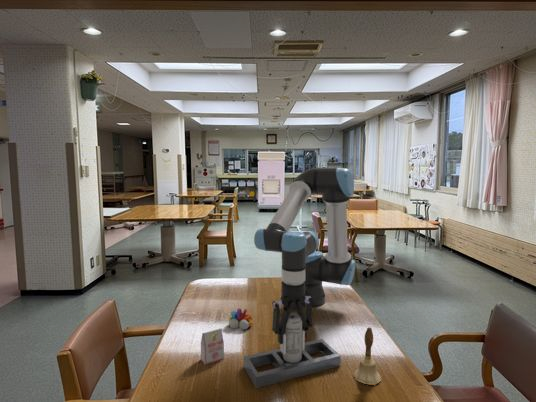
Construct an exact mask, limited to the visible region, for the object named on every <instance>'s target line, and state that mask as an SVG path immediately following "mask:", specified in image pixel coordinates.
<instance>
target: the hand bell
mask: <svg viewBox="0 0 536 402" xmlns="http://www.w3.org/2000/svg"><path fill="white" fill-rule="evenodd" d="M373 344H374V334H373V329H372V327H369V326H368V327H367V329H366V331H365V332H364V345H365V354H364V355H365V356H364V357H361V359H360V361H359V366H358V368H357V369H356V370H355V371H354V373H353V378H354V377H355V378H354V380H355V381H356V382H358V381H359V382H361V383H364V384H377V383H379V382H380V381H381V382H382V376H381V375H380V373H379V372H378V371H377V367H376V361H375V360H374V359H373V358H372V346H373ZM359 382H358V383H359ZM381 382H380V383H381ZM361 383H360V384H361ZM380 383H379V384H380ZM364 384H363V385H364Z"/></svg>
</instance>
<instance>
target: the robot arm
mask: <svg viewBox="0 0 536 402" xmlns="http://www.w3.org/2000/svg"><path fill="white" fill-rule="evenodd" d="M354 194H355V180H354V176H353V173H352V171H351V170H350V169H349V168H343V167H342V168H341V167H312V168H309V169H307V170H305V171H303V172H301V173H300V174H298V175H297V176H296V177H295V178H294V179H293V181H292V182H291V183H290V185H289V191H288V193H287V194H286V196H285V198H284V200H283V201H282V203H281V205H280V206H279V207H278V209H277V211H276V213H275V214H274V216H273V217H272V219H271V221H270V222H269V224H268V225H267V227H266V228H259V229H257V230H256V231H255V233H254V236H253V237H254V239H253V243H254V245H255V248H256V249H258V250H261V251H265V252H275V253H281V280H282V281H281V283H280V284H281V291H280V292H281V297H280V298H279V300H277V301H272V302H271V303H272V307H273V314H272V328H271V329H272V332H273V333H274V334H275V335H277V342H278V343H279V346H280V347H279V349H280V351H281V352H282V353H283V354H284V355H285V354H286V334H285V333H284V331H285V328H286V325H287V321H288V318H289V315H290V314H291V313H292V312H293V311H296V313H297V314H299V315H300V318H301V320H302V350H304V349H305V343H306V342H305V340H306V339H307V337H308V331H309V330H310V328H312V327H313V325H314V323H313V322H314V321H313V307H316V306H317V307H318V306H321V305H324V304H325V303H326V294H325V290H324V287H323V283H329V284H335V285H340V286H350V285H351V284H352V281H353V280H354V279H353V278H354V276H355V272H356V266H357V264H356V260H354V259H352V254H351V253H350V252H349V251H348V247H349V246H348V214H347V212H348V210H347V207H348V206H347V203H348V202H349V201H350V200H351V197H353V196H354ZM314 195H315V196H316V195H317V196H321V199H322V202H324V203H325V207H326V208H325V210H326V227H327V229H326V230H327V231H326V232H327V233H326V234H327V251H328V252H326V253H325V255H324V254H323V252H321V251H318V250H317V249H318V248H319V246H320V239H319V237H318V235H317V234H316V233H314V232H313V231H310V230H309V231H304V232H301V231H300V232H299V231H290V229H291V227H292V226H293V225H294V221H295V219H296V218H297V216H298V215H299V213H300V211H301V209H302V207H303V205H304V203H305V202H306V201H307V200H308V199H310V197H312V196H314ZM281 306H282V307H281ZM303 306H304V308H303ZM281 308H282V313H281ZM304 313H305V314H304Z"/></svg>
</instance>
